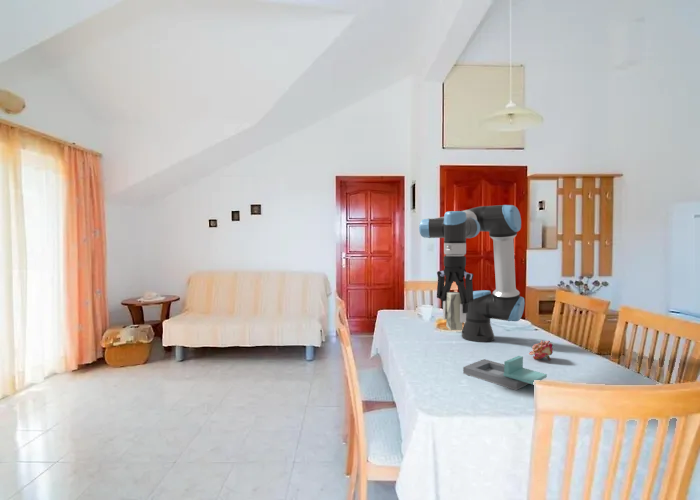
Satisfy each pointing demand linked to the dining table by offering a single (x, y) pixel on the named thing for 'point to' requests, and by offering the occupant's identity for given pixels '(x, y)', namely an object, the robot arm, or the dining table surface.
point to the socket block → (492, 374)
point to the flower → (542, 350)
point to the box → (453, 311)
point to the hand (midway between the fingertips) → (454, 320)
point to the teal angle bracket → (521, 371)
